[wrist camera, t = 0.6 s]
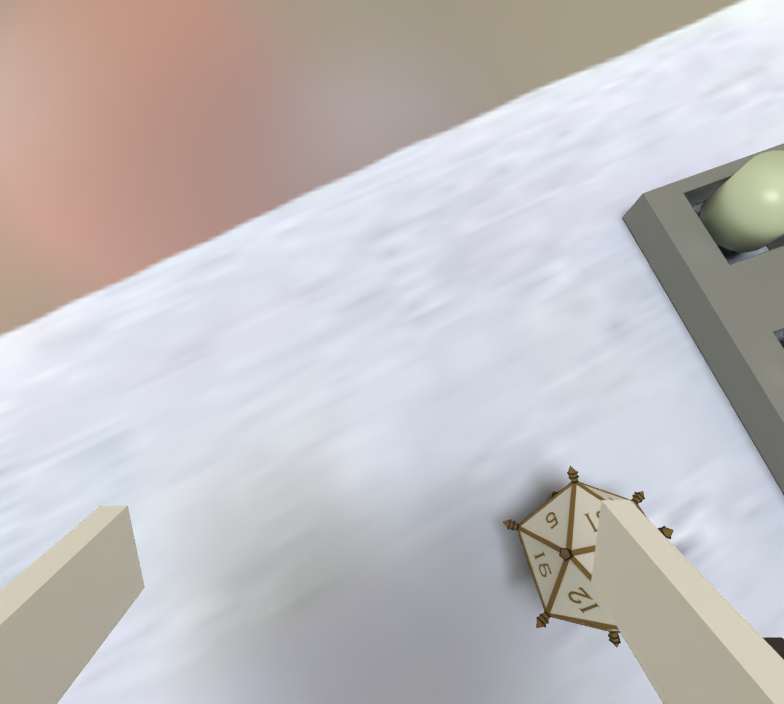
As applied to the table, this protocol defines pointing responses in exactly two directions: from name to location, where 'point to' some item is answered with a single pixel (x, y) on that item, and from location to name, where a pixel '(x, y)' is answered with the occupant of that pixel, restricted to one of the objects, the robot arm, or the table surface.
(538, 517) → the game die
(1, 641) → the robot arm
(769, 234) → the button two
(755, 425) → the console
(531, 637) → the table surface
